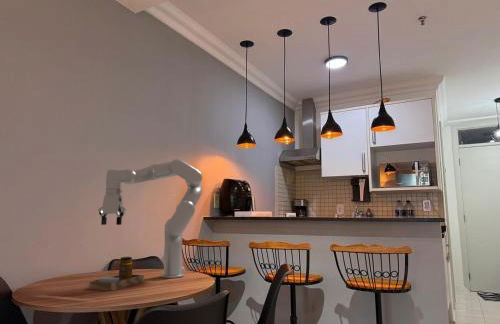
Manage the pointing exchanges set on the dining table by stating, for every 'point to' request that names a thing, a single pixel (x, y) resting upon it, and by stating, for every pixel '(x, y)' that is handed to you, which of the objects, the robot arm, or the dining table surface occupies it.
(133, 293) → the dining table surface
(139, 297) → the dining table surface
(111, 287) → the caddy
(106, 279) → the painted block
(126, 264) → the condiment
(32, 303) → the dining table surface
